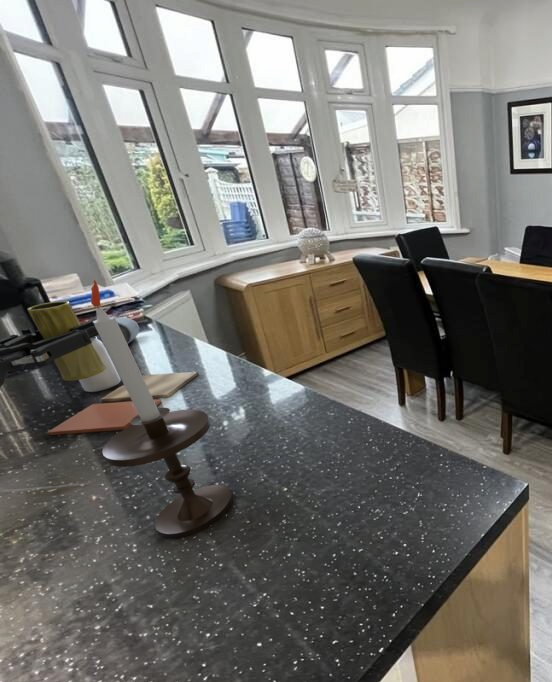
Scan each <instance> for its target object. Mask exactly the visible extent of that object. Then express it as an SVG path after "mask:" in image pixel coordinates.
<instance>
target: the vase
mask: <svg viewBox="0 0 552 682" xmlns="http://www.w3.org/2000/svg"><path fill="white" fill-rule="evenodd" d="M27 311H28V314H29V316H30V317H31V319H32V321H33V322H34V325H35V327H36V328H37V330H39V331H40V333H41V335H42V337H43V338H44V340H45V339H48V338H51V337H54V336H57V335H60V334H63V333H66V332H70V329H72V328H74V327H77V326H79V325H82V323H81V321H80V320H79V318H78V317H77V314H76V312H75V310H74V308H73V307H72V304H71V303H70V301H68V300H60V301H58V300H57V301H50V302H45V303H40V304H36V305H33V306H30V307H28V308H27ZM53 361H54V363H55V366H56V367H57V370H58V372H59V373H60V377H61V379H62V380H63V381H66V382H72V381H79V380H81V379H85V378H88V377H92V376H94V375H97V374H99V373H101V372H103V371H104V370H105V369H106V367H105V365H104V364H103V363H102V361H101V359H100V357H99V356H98V354H97V352H96V351H95V349H94V347H93V345H92V344H88V345H87V346H85V347H82V348H79V349H77V350H75V351H73V352H70V353H68V354H66V355H64V356H61V357H59V358H57V359H54V360H53Z"/></svg>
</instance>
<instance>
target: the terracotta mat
mask: <svg viewBox="0 0 552 682" xmlns="http://www.w3.org/2000/svg"><path fill="white" fill-rule="evenodd" d="M153 400H154V402H155V404H156V406H157V407H158V406H159V405H160V404H161V403H162V400H161V398H156V399H153ZM137 415H139V414H138V412H137V410H136V408H135V406H134V404H133V402H132V400H129V401H115V402H102V403H92V404H91V405H89V406H87V407H85V408H84V409H82V410H81V411H79V412H77V413H76V414H74V415H73V416H71V417H69V418H68V419H65V420H64V421H63V422H61V423H60V424H58V425H57V426H55V427H53V428H52V429H50V430H48V431H47V434H48V435H49V436H58V435H60V436H61V435H70V434H71V435H72V434H84V433H85V434H86V433H97V432H110V431H111V432H112V431H123V430H124V429H126V428H128V427H130V426H132V424H131V423H130V421H131V420H132V419H133V418H134V417H135V416H137Z"/></svg>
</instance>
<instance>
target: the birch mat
mask: <svg viewBox="0 0 552 682" xmlns="http://www.w3.org/2000/svg"><path fill="white" fill-rule="evenodd" d="M198 375H199V371H186V372H171V373H156V374H143V375H142V377H143V379H144V381H145V383H146V385H147V387H148V389H149V392H150V394H151V396H152V398H153V399H164V398H165V399H166V398H170V397H171V396H172V395H173V394H174V393H176V392H177V391H179V390H180V389H181V388H183V387H184V386H185V385H187V384H188V383H189V382H191V381H192V380H193V379H195V378H196V377H197V376H198ZM100 401H101V402H102V403H111V402H125V401H132V400H131V398H130V396H129V394H128V392H127V390H126V388H125V386H124V384H123V385H120V386H119V387H117V388H116V389H115V390H113V391H111V392H109V393H108V394H107V395H105V396H103V397H102V398H100Z"/></svg>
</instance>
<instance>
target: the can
mask: <svg viewBox="0 0 552 682" xmlns="http://www.w3.org/2000/svg"><path fill="white" fill-rule="evenodd" d="M90 339H91V341H92V343H91V344H92V345H93V347H94V349H95V351H96V352H97V354H98V356H99V357H100V359H101V361H102V363H103V364H104V365H105V367H106V369H105V370H104V371H103V372H101V373H99V374H97V375H94V376H92V377H88V378H85V379H81V380H78V381H79V384H80V385H81V387H82V389H83V390H84V391H85V392H86V393H87V392H88V393H97V392H98V393H99V392H103V391H107V390H109V389H111V388H114V387H116V386H118V385H119V384H120V383H121V382H122V380H121V378H120V376H119V374H118V372H117V369H116V367H115V365H114V363H113V361H112V359H111V357H110V355H109V353H108V351H107V349H106V347H105V345H104V344H103V343H102V342H101V341H100V340H99V339H98V337H97V335H96V336H94V337H92V338H90Z"/></svg>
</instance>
